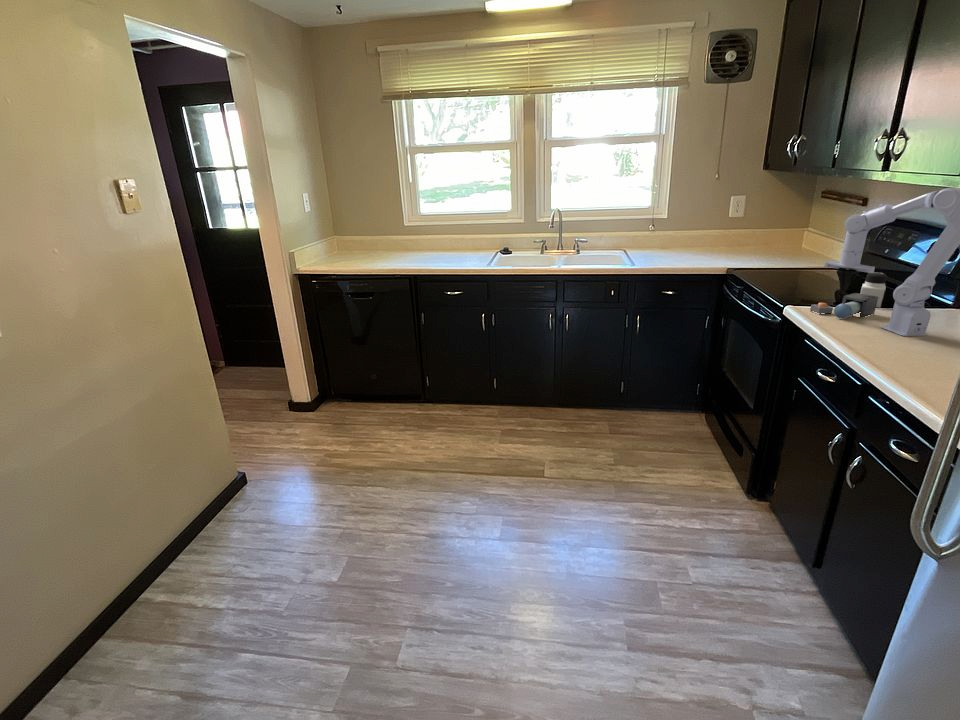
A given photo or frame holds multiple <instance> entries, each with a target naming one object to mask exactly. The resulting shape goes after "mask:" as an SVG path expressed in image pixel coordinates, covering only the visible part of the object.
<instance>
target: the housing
mask: <svg viewBox="0 0 960 720" xmlns="http://www.w3.org/2000/svg"><path fill="white" fill-rule="evenodd" d="M878 298H879V297H877V296H871V295H865V294H860V293H858V292H853V293H849V294H846V295H843V297H842V301H841V304H846V303H849V302H852V301H860V302H863V305H862V309H861V313H860V317H865V316H868V315H870V316H872V315H871V314H873V315H875V312H876V308H877V307H876V305H877V301H878ZM868 317H869V316H868ZM865 318H866V317H865Z"/></svg>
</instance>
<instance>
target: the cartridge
mask: <svg viewBox="0 0 960 720" xmlns="http://www.w3.org/2000/svg"><path fill="white" fill-rule="evenodd" d="M862 305H863V302H860V301H852V302H849V303H846V304H842V303H840V304H837V305H836V306H835V307H834V308H833V313H834V315H835V317H837V318H838V319H847V318H849V317H851V316H850V315H853V314H856V313H859V312H861V309H862Z"/></svg>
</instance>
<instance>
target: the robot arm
mask: <svg viewBox="0 0 960 720" xmlns="http://www.w3.org/2000/svg"><path fill="white" fill-rule="evenodd" d="M924 208H928V209H929V208H930V209H931V208H932V209H933V208H934V209H936V211H937V212H939V213H940V215H942V216H943V217H944V220H945V221H946V224H947V225H946V226H945V228H944V229H943V230H942V232H941V233H940V235H939V236H938V238H937V239H936V241H935V242H934V244H933V245H932V247H931V248H930V250H929V251H928V252H927V254H926V255H925V257H924V258H923V260H922V261H921V263H920V264H919V265H918V267H917V268H916V270H915V271H914V272H913V273H912V274H911V275H909V276H908V277H907V278H906V279H905V280H904V282H902V284H900V285H898V286H897V287H896V288H895V289H894V290H893V292H892V297H893V300H894V304H893V308H892V312H891V314H890V319H889V322H888V325H880V328H881V329H885V330H886V331H890V332H891V333H893V334H897V335H900V336H901V337H914V336H915V337H916V336H917V337H919V336H921V337H922V336H928V333H926V332H927V329H928V326H929V323H930V320H931V312H930V311H929V310H928V309H926V308H925V301H926V300H928V299H930V297H931V295H932V293H933V287H934V286H935V285H936V277H937V276H938V274H939V273H940V272H941V271H942V270H943V267H944V266H945V265H946V263H947V262H948V261H949V260H950V258H951V256H952V255H953V254H954V253H955V251H956V250H957V248H958V247H959V246H960V187H956V188H955V187H954V188H952V187H949V188H948V187H947V188H943V189H941V190H935V191H931V192H928V193H925V194H923V195H920V196H917V197H915V198H911V199H910V200H907V201H905V202H901V203H899V204H897V205H896V204H895V205H894V204H886V203H881V204H879V205H878V207H876V208H873V209H871V210H864V211H862V214H853V215H851V216H849V217H847V218H846V220H845V222H844V229H845V230H846V233H845V238H844V243H843V246H842V252H841V256H840V259H839V261H831V260H830V261H829V260H827V261H825V263H824V268H832V269H837V270H836V272H835V273H836V274H837V277H838V281H839V291H840V292H846V291H848V288H849V287H850V285H851V283H852V281H853V280H854V279H855V278H856V277H857V275H859V273H860V272H862V273H863V272H864V273H867V274H868V273H875V268H876V266H870V265H866V264H861V260H862V257H863V253H864V248H865V245H866V240H867V236H868V232H869V231H870V230H872V229H874V228H877V227H881V226H883V225H887V224H889V223H893V222H895V220H896V219H897V218H898V216H900V215H904V214H907V213H910V212H911V213H912V212H914V211H918V210H922V209H924Z"/></svg>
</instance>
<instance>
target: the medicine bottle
mask: <svg viewBox="0 0 960 720" xmlns="http://www.w3.org/2000/svg"><path fill="white" fill-rule="evenodd" d="M887 278H888V275H886V273H883V272H874V273H868V272H867V274H866V277H865V281H864V283H862V286H861V289H860V293H859V294H865V295H871V296H877V297H879V298H878V301H877V305H876V308H879V309H880V308H881V307H882V304H883V301H884V297H885V294H886V287H887V286H886V281H887Z"/></svg>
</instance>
